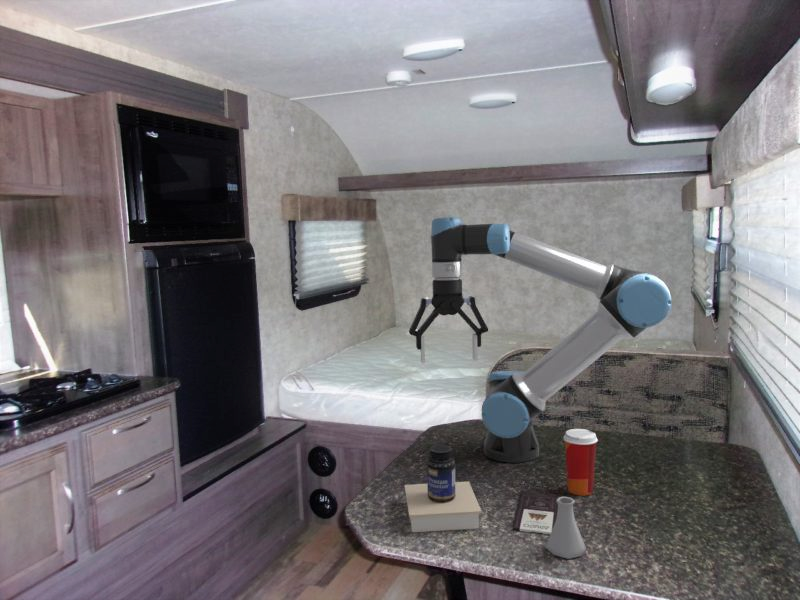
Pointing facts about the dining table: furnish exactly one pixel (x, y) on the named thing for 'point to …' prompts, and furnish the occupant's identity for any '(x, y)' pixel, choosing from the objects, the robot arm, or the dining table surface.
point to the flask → (565, 532)
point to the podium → (442, 509)
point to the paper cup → (580, 460)
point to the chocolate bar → (536, 513)
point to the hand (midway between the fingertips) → (449, 360)
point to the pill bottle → (441, 474)
